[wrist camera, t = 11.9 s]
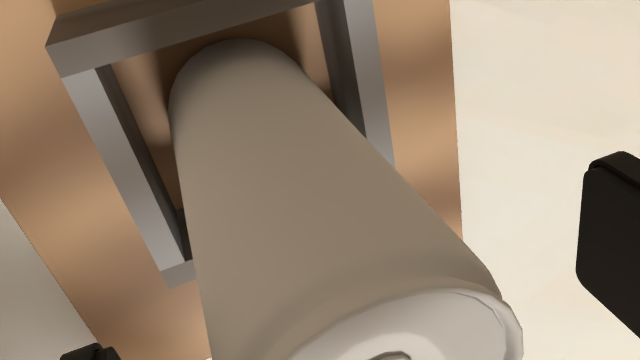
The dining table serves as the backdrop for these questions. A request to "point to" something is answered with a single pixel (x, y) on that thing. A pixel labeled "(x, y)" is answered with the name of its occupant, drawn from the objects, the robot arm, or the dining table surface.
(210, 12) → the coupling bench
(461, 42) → the dining table surface
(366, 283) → the beverage can
